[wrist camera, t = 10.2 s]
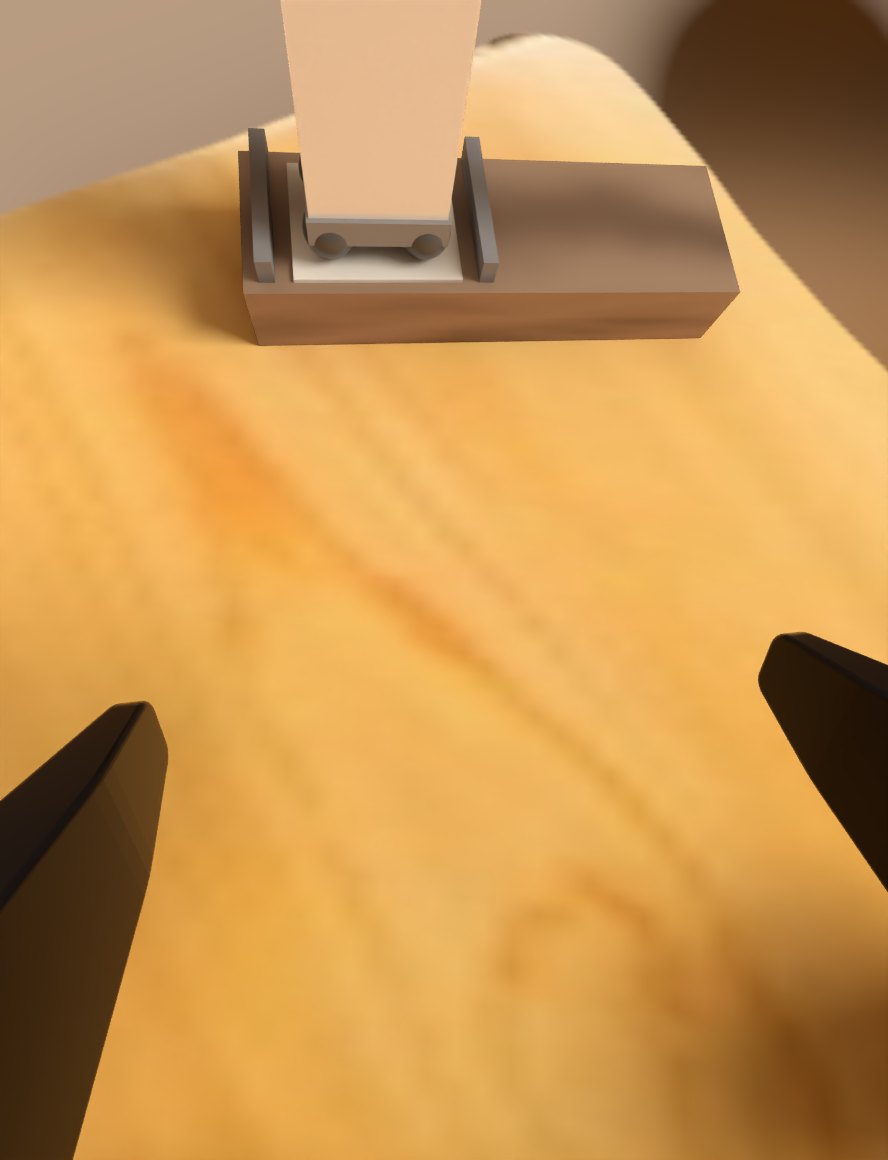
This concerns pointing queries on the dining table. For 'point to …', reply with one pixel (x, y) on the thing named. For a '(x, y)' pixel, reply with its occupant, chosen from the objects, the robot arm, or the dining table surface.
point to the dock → (496, 257)
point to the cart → (379, 118)
